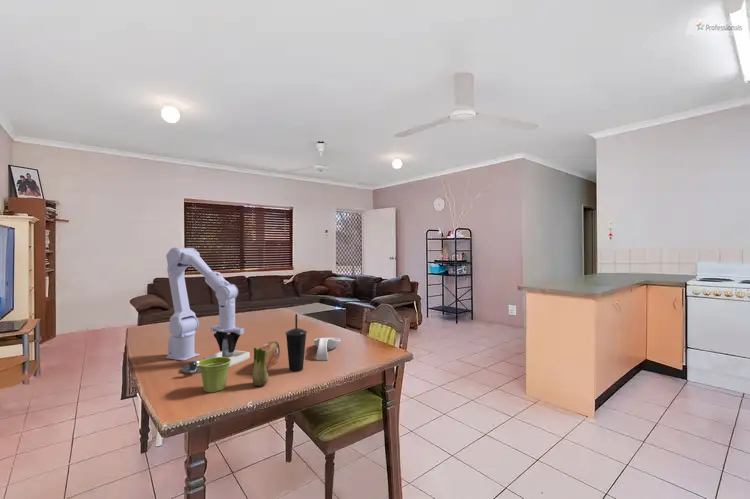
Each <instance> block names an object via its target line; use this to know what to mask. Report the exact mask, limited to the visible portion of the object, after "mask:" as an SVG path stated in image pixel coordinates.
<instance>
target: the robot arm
mask: <svg viewBox="0 0 750 499" xmlns="http://www.w3.org/2000/svg"><path fill="white" fill-rule="evenodd" d="M200 254H201V253H200V252H199V251H198V250H197V249H196V248H194V247H172V248H170V249H169V250H168V252H166V262H167V266H166V267H167V275H168V281H169V286H170V287H169V288H170V294H171V299H172V300H171V301H172V305H173V311H174V313H173V314H172V315H171V316H170V318H169V326H168V329H169V333H170V335H171V336H170V337H169V339H168V342H167V356H166V358H165V359H171V360H174V361H175V360H176V361H186V360H190V359H193V358H196V357H198V356H200V354H201V353H196V352H195V334H196V333H197V331H198V329H199V326H200V322H199V319H198V317H197V316H196V312H194V311H193V310H191V308H190V302H189V296H188V291H187V286H186V278H185V274H184V273H185V271H186V269H187V268H189V267H190V266H192V267H193V268H194V269H195V270H196V271H197V272H199V273H200V274H201V275H202V276H203V277H204V282H205V283H206V284H207V285H208V286H209V287H210V288H211V289H212V291H214V294H215V298H216V299H217V303H218V310H219V311H218V321H219V322H218V323H219V324H218V325H212V326H210V332H215V333H213V337H214V338H215V340H216V342H217V344H218V349H219V352H221V351H222V338H224V337H227V340H228V345H229V352H230V353H231V352H234V350H235V349H236V346H237V342H238V340H239V338H240V337H241V335H244V334H245V328H244V327H238V326H236V299H237V297H238V296H239V289H238V287H237V286H236V284H233V283H230V282H229V281H227V280H226V279H225V278H224V277H223V276H222V273H221V272H219V271H213V270H212V269H211V268H210V266H209V265H208V264H207V263H206V261H204V260H203V258H202V257H201V256H200Z"/></svg>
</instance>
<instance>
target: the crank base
mask: <svg viewBox="0 0 750 499" xmlns="http://www.w3.org/2000/svg"><path fill="white" fill-rule="evenodd" d="M181 373H183V374H185V375H188V374H189V375H193V374H194V375H195V374H200V373H201V370H200V366H198V367H197V370H196V372H191V373H190V370H189V364H186V365H184V366H182V367H181Z"/></svg>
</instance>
